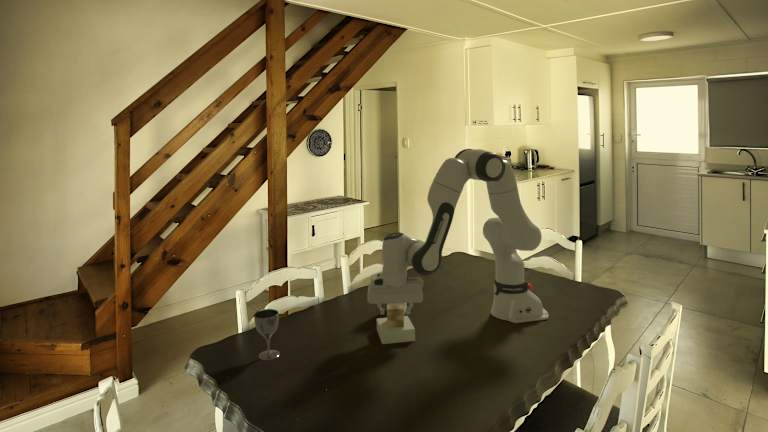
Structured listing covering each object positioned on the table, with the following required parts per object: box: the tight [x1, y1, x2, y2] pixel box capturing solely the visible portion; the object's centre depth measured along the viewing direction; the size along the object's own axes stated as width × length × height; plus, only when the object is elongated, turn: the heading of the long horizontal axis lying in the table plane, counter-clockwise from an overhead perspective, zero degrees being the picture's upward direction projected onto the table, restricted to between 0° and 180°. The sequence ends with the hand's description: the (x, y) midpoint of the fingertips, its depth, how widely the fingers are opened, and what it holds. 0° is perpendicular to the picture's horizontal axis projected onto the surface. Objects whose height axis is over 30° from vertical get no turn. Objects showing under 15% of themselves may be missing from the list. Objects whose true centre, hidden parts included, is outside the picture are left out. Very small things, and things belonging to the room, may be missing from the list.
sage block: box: [376, 315, 416, 345], centre depth 172 cm, size 12×12×5 cm
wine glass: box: [253, 308, 281, 361], centre depth 158 cm, size 8×8×15 cm
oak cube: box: [386, 304, 405, 327], centre depth 171 cm, size 6×6×6 cm
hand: (395, 313), depth 171 cm, fingers open, 8 cm apart
